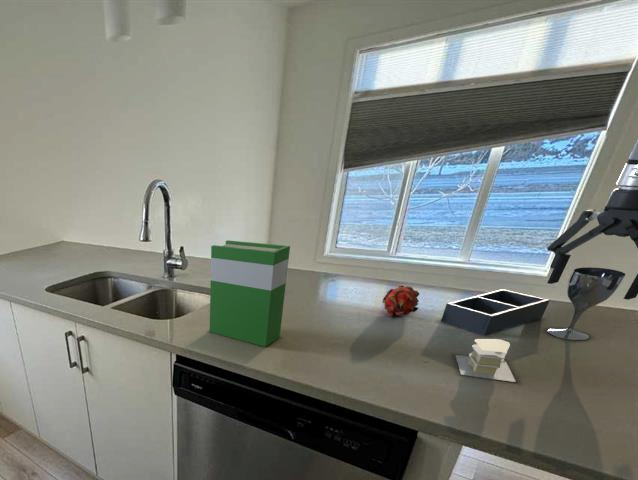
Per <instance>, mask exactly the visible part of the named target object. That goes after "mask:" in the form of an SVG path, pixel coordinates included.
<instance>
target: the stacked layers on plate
mask: <svg viewBox="0 0 638 480" xmlns="http://www.w3.org/2000/svg"><path fill="white" fill-rule="evenodd" d="M474 342H475V344H472V345H471V348H472V351H471V352H470V353H469V354H468V356H467V355H460V354H455V359H456V363H457V366H458V369H459V373H460V375H461V376H468V377H475V378H481V379H490V380H497V381H506V382H511V383H516V379H515V377H514V375H513V373H512V371H511V369H510V366H509V365H508V363H507V361H506V360H505V357H506V356H507V354H508V351H509V349H510V346H511V344H510V342H509V341H506V340H503V339H499V338H475V339H474Z"/></svg>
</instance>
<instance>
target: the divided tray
mask: <svg viewBox="0 0 638 480" xmlns="http://www.w3.org/2000/svg"><path fill="white" fill-rule="evenodd" d="M550 301H551V299H548V298H543V297H539V296H535V295H530V294H525V293H521V292H517V291H514V290H513V291H512V290H509V289H504V288H501V289H498V290H494V291H489V292H486V293H481V294H478V295H474V296H471V297H470V296H469V297H465V298H462V299H459V300H455V301H451V302H447V303H446V304H445V307H444V310H443V313H442V316H441V319H440V322H442V323H445V324H448V325H451V326H454V327H457V328H459V329H463V330H466V331H470V332H473V333H476V334H479V335H481V336H488V335H490V334H495V333H497V332H501V331H504V330H507V329H511V328H514V327H517V326H521V325H524V324H528V323H532V322H534V321H538V320H541V319H542V318H543V317H544V314H545V312H546V310H547V308H548V306H549V303H550Z"/></svg>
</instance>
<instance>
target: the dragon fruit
mask: <svg viewBox="0 0 638 480" xmlns="http://www.w3.org/2000/svg"><path fill="white" fill-rule="evenodd" d="M419 296H420V292H419V290H414V288H413V287H412V286H410V285H407V286H405V285H398V286H396V287H395V288H391V289H389V290H388V291H386V294H385V295H384V297H383V298H382V304H384V307H383V308H384V310H386V312H387V315H388V316H390V317H397V316H407V315H409V314H411V313H415V312H417V311H418V310H419V307H418V306H419V302H420V301H419V299H418V297H419Z"/></svg>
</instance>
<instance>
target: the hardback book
mask: <svg viewBox="0 0 638 480" xmlns="http://www.w3.org/2000/svg"><path fill="white" fill-rule="evenodd" d="M290 250H291V245H285V244H284V245H283V244H272V243H263V242H262V243H261V242H251V241H250V242H249V241H239V240H230V239H229V240H225V244H223V245H216V244H215V245H214V244H213V245H211V246H210V289H209V290H210V292H209V293H210V295H209V332H210V333H214V334H217V335H221V336H224V337H228V338H232V339H236V340H239V341H241V342H247V343H249V344H254V345H257V346H261V347H264V348H266V347H268V346H269V345H270V344H272V343H273V342H275V341H277V340H279V338H280V337H281V329H282V320H283V311H284V303H285V295H286V286H287V285H286V284H287V277H288V268H289V261H290V260H289V259H290V253H291V252H290Z"/></svg>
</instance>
